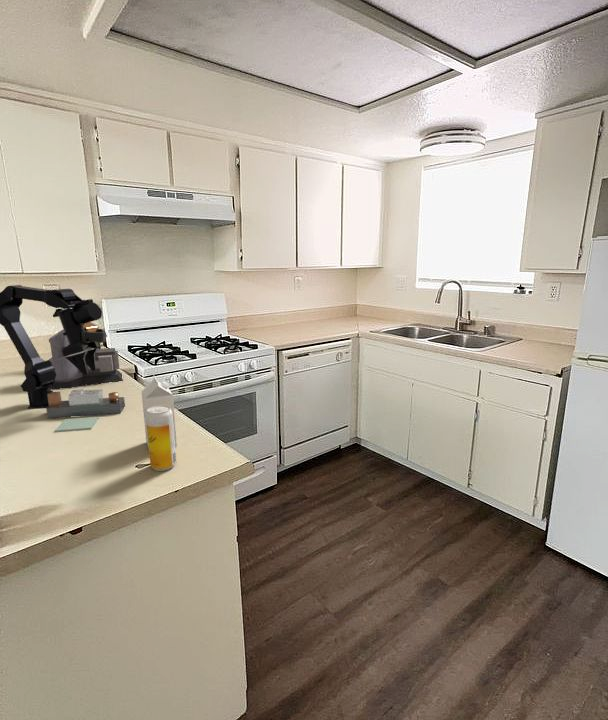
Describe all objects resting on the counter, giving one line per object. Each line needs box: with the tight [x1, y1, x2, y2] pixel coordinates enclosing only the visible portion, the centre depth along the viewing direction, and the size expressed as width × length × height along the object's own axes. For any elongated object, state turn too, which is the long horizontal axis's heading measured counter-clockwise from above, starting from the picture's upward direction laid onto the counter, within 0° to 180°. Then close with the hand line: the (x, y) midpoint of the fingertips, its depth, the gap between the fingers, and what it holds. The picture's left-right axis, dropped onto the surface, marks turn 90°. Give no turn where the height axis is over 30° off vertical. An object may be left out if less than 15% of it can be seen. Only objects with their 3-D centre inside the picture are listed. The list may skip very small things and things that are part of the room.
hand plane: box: [45, 391, 126, 419], centre depth 137 cm, size 22×7×8 cm, turn 102°
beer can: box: [146, 405, 177, 472], centre depth 100 cm, size 6×6×15 cm
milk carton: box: [141, 375, 178, 449], centre depth 112 cm, size 7×7×19 cm
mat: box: [54, 416, 100, 433], centre depth 127 cm, size 10×9×1 cm
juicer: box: [48, 329, 124, 390], centre depth 170 cm, size 30×16×24 cm, turn 113°
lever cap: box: [67, 388, 104, 406], centre depth 137 cm, size 9×5×4 cm, turn 102°
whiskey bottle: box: [82, 299, 102, 349], centre depth 191 cm, size 10×10×32 cm
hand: (90, 372), depth 136 cm, fingers open, 9 cm apart
